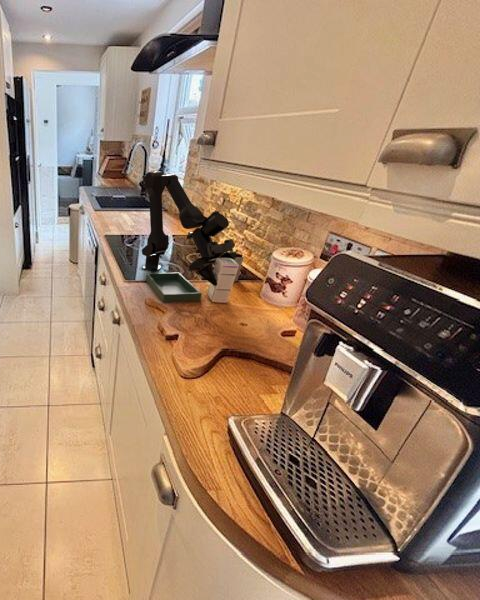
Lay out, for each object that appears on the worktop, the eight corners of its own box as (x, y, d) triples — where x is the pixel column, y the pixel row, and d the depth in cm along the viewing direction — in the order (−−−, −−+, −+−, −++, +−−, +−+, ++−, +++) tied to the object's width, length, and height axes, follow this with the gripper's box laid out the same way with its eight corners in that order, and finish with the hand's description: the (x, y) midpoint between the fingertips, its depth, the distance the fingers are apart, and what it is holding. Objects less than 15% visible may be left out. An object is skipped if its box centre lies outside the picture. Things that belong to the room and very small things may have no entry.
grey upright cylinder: (225, 280, 131) (230, 255, 127) (226, 276, 135) (231, 252, 130) (237, 282, 130) (243, 257, 125) (238, 278, 133) (244, 254, 129)
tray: (145, 280, 130) (146, 273, 128) (177, 279, 131) (179, 272, 130) (163, 302, 112) (164, 294, 111) (200, 300, 114) (201, 293, 113)
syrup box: (227, 303, 113) (240, 264, 106) (211, 302, 113) (222, 263, 106) (221, 295, 118) (233, 258, 111) (205, 294, 118) (216, 256, 111)
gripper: (201, 234, 104) (223, 278, 100) (239, 228, 112) (260, 268, 109) (179, 251, 113) (198, 292, 110) (215, 244, 122) (234, 281, 118)
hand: (223, 283), depth 111 cm, fingers closed on syrup box, 7 cm apart
